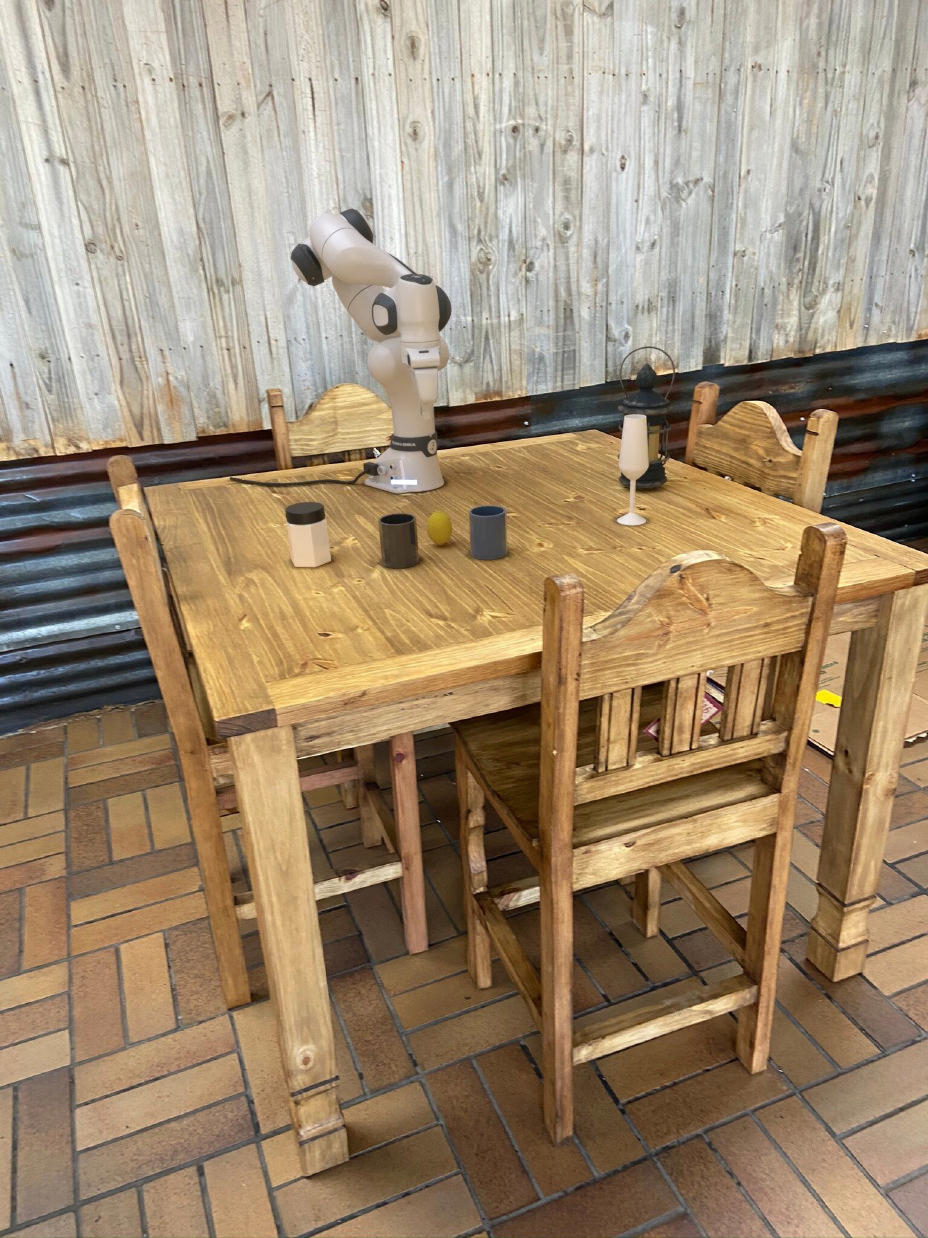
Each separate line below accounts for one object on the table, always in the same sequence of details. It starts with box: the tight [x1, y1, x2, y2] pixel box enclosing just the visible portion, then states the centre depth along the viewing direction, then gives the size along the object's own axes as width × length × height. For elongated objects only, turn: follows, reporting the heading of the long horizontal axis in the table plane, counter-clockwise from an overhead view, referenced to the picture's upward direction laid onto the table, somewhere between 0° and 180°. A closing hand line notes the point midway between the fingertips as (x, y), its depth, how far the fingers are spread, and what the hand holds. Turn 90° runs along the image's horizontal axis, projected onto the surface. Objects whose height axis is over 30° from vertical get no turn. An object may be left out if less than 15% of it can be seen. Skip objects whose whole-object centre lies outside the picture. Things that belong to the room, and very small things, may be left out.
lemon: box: [426, 510, 453, 546], centre depth 194 cm, size 6×6×8 cm
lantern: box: [617, 345, 676, 491], centre depth 222 cm, size 14×13×35 cm
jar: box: [284, 501, 332, 568], centre depth 188 cm, size 9×8×12 cm
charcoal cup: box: [377, 512, 420, 569], centre depth 185 cm, size 8×8×10 cm
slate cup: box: [468, 504, 508, 561], centre depth 187 cm, size 8×8×10 cm
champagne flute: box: [616, 414, 649, 526], centre depth 200 cm, size 7×7×24 cm
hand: (425, 416), depth 200 cm, fingers closed
